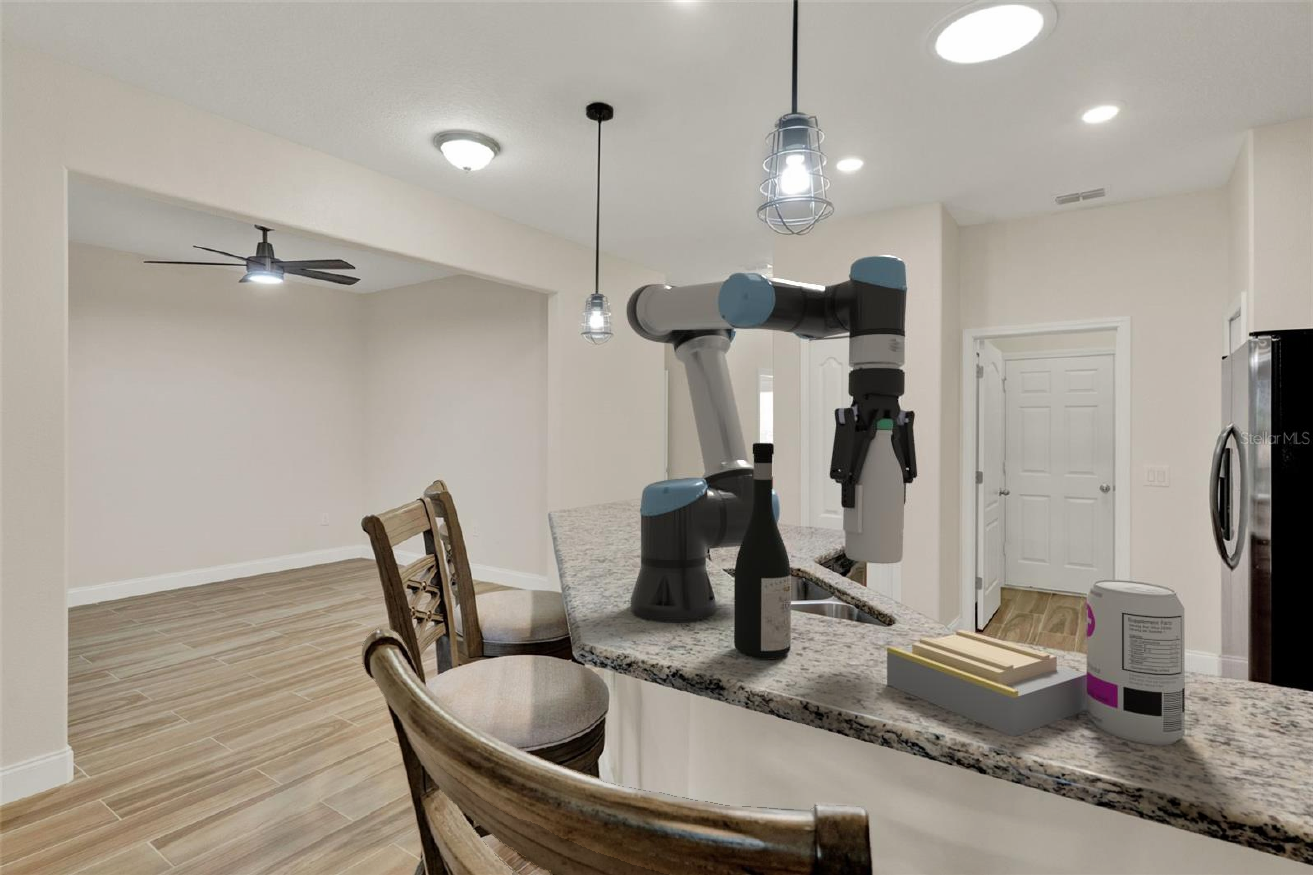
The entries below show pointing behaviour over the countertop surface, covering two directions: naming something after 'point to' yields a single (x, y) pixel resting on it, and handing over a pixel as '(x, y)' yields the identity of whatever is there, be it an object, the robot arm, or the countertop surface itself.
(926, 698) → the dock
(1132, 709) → the supplement can
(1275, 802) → the countertop surface
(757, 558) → the wine bottle
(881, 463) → the milk bottle
